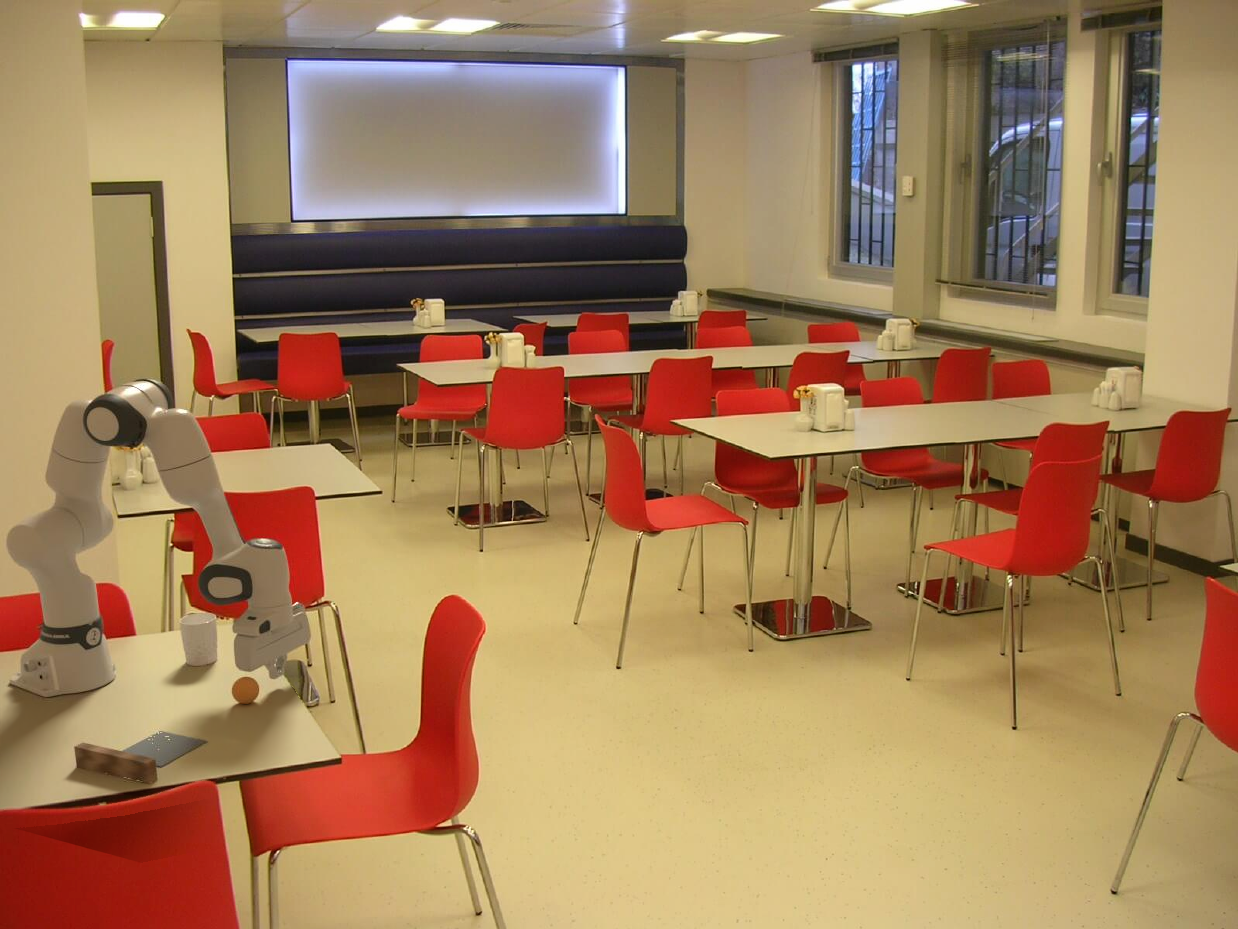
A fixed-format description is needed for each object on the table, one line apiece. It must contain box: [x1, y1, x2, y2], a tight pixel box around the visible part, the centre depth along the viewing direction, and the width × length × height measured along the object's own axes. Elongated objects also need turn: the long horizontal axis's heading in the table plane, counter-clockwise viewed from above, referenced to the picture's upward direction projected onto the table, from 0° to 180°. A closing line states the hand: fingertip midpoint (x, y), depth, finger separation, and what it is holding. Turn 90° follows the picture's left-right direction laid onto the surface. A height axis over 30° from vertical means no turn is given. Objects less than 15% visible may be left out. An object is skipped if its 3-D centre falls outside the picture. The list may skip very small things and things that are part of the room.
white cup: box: [178, 612, 218, 667], centre depth 296 cm, size 8×8×10 cm
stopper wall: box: [73, 742, 158, 785], centre depth 242 cm, size 18×2×4 cm, turn 64°
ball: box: [231, 676, 260, 705], centre depth 273 cm, size 6×6×6 cm
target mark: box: [122, 730, 208, 768], centre depth 252 cm, size 12×12×1 cm
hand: (277, 676), depth 281 cm, fingers closed
